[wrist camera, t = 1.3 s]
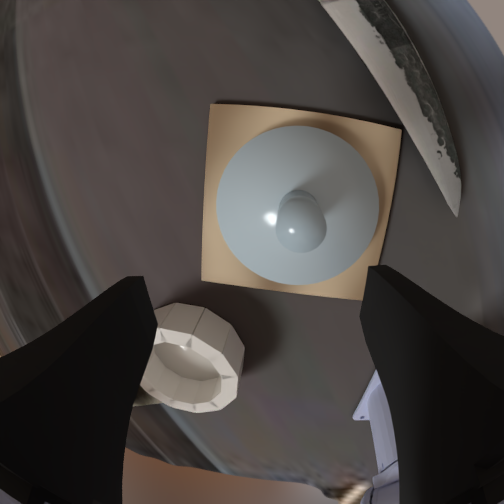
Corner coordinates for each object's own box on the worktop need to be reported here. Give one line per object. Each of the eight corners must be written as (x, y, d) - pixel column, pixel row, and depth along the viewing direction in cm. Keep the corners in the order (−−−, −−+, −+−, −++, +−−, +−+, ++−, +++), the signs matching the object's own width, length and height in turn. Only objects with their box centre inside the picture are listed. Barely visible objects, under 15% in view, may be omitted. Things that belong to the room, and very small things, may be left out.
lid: (385, 141, 16) (416, 141, 11) (358, 287, 19) (374, 326, 15) (224, 120, 16) (202, 112, 12) (216, 269, 20) (195, 305, 16)
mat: (399, 130, 16) (401, 129, 15) (366, 298, 20) (367, 300, 20) (212, 104, 16) (210, 104, 16) (203, 278, 21) (201, 280, 20)
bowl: (248, 314, 22) (241, 342, 18) (240, 391, 25) (234, 420, 22) (138, 295, 22) (118, 318, 19) (150, 372, 26) (136, 397, 22)
